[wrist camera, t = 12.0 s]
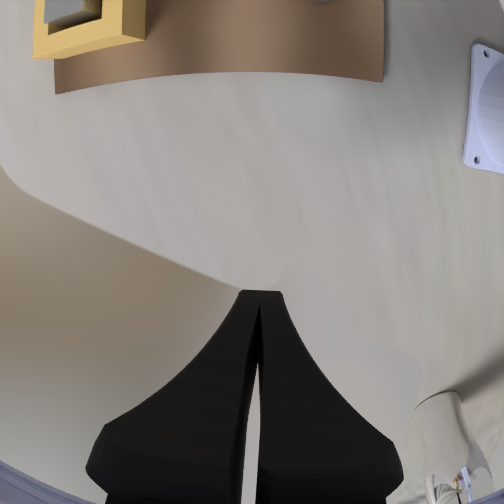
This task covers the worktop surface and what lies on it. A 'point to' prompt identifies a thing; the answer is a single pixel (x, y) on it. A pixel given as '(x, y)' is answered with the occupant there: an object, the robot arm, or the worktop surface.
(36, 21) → the collar
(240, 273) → the worktop surface
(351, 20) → the stand board
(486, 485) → the beer glass
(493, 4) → the worktop surface
